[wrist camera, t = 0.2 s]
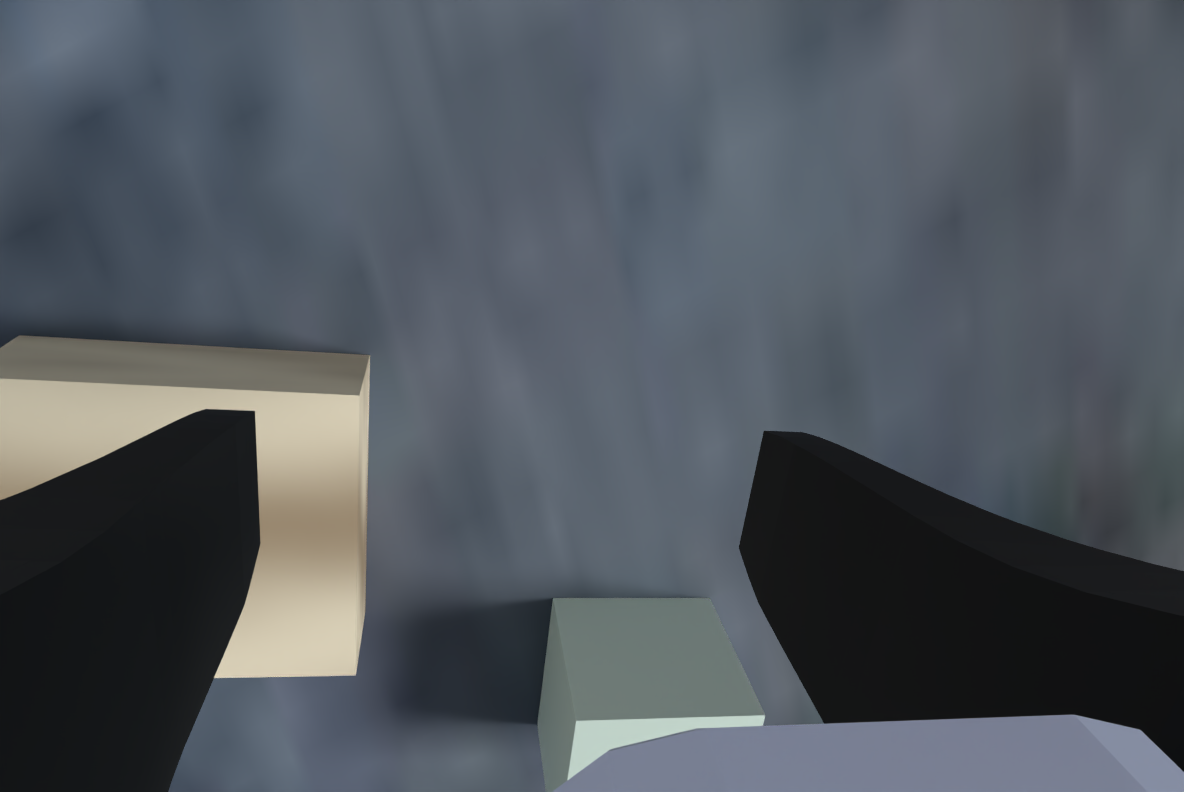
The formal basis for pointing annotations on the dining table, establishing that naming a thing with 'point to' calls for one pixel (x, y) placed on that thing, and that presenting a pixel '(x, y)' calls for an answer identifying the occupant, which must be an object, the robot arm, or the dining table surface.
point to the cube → (635, 678)
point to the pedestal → (284, 463)
